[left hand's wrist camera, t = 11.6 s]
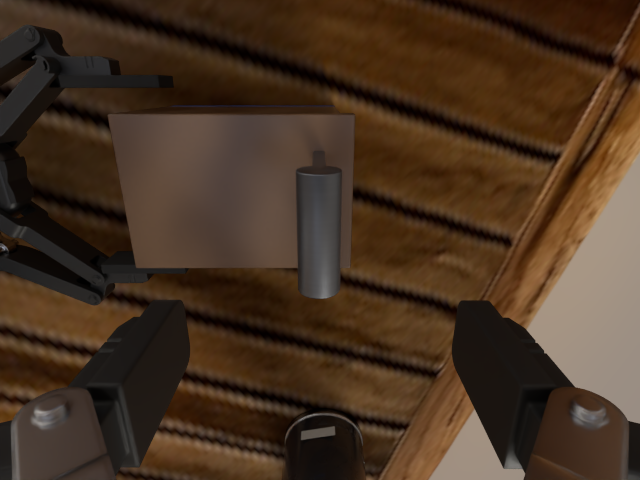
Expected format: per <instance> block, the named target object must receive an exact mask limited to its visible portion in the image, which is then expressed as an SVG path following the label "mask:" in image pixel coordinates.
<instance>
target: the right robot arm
mask: <svg viewBox="0 0 640 480" xmlns="http://www.w3.org/2000/svg"><path fill="white" fill-rule="evenodd" d="M62 44H63V40H62V37H61V35H60V34H59V33H58V32H56V31H55V30H50V29H46V28H41V27H36V26H32V25H25V26H23V27H21V28H19V29H18V30H16V31H15V32H13V33H12V34H10V35H9V36H7V37H6V38H4V39H3V40H1V41H0V86H1V85H3V84H4V83H6V82H7V81H9V80H10V79H12V78H14V77H15V76H17V75H18V74H20V73H21V72H23V71H25V70H26V69H28V68H29V67H31V66H33V65H34V66H33V67H32V68H31V69H30V70H29V72H28V73H27V74H26V75H25V76H24V78H23V79H22V80H21V81H20V82H19V84H18V85H17V86H16V87H15V88H14V90H13V91H12V92H11V93H10V94H9V96H8V97H7V98H6V99H5V100H4V102H3V103H2V104H1V105H0V231H2V232H4V233H5V234H7V235H8V236H10V237H14V238H21V239H23V240H25V241H26V242H28V243H29V244H31V245H32V246H34V247H36V248H37V249H39V250H40V251H38V250H36V249H33V248H30V247H27V246H22V245H19V242H18V241H17V240H15V239H13V240H10V239H7V238H5V237H3V236H2V234H1V232H0V271H6V272H9V273H12V274H14V275H17V276H19V277H22V278H24V279H27V280H29V281H32V282H34V283H37V284H40V285H42V286H45V287H47V288H50V289H52V290H55V291H57V292H60V293H63V294H65V295H68V296H70V297H73V298H75V299H78V300H80V301H83V302H86V303H88V304H91V305H98V304H100V303H101V302H102V301H103V300H104V299H105V298H106V297H107V296H108V295H109V294H110V293H111V292H112V291H113V290H114V288H115V284H114V283H143V282H146V281H148V280H149V279H150V278H151V277H152V275H153V274H154V273H186V272H187V271H188V269H189V268H136V264H135V259H134V254H133V251H117V252H116V253H115V254H114V255H112V256H111V257H110V258H109V257H108V256H106V255H105V254H103V253H102V252H100V251H99V250H97V249H96V248H94V247H93V246H91V245H90V244H88V243H87V242H85V241H84V240H82V239H81V238H79V237H78V236H76V235H75V234H73V233H72V232H70V231H69V230H67V229H66V228H64V227H63V226H61V225H60V224H58V223H57V222H55V221H54V220H52V219H51V218H49V217H48V213H47V211H45V210H44V209H42V208H41V207H39V206H38V205H36V204H35V203H33V202H32V201H31V197H34V196H35V195H34V192H33V188H32V186H31V184H30V182H29V180H28V178H27V166H26V162H25V159H24V157H20V155H19V154H18V153H17V151H16V150H15V149H16V148H17V146H18V145H19V144H20V143H21V142H22V141H23V140H24V138H25V137H26V136H27V133H26V132H27V131H28V129H29V128H30V127H31V126H32V125H33V124H34V123H35V121H36V120H37V119H38V118H39V117H40V116H41V115H42V113H43V112H44V111H45V110H46V109H47V108H48V107H49V105H50V104H51V103H52V102H53V101H54V100H55V99H56V97H57V96H58V95H59V94H60V93H61V92H62V91H63V89H64V88H166V87H174V86H173V78H172V76H163V75H121V73H120V67H119V61H117V60H114V59H112V58H107V57H100V56H97V57H71V56H70V55H68V54H67V53H66V51H65V50H64V48H63V46H62ZM20 214H22V215H23V216H24V217H21V218H16V217H17V216H18V215H20ZM41 251H42V252H41Z"/></svg>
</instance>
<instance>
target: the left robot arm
mask: <svg viewBox="0 0 640 480" xmlns="http://www.w3.org/2000/svg"><path fill="white" fill-rule="evenodd" d="M189 356H190V343H189V336H188V329H187V322H186V315H185V308H184V304H183V302H182V301H181V300H153V301H152V302H151V303H150V305H149V306H148V307H147V309H146V310H145V311H144V312H143V314H142V315H141V316H140V317H133V318H132V319H130V320H128V321H127V322H125V323H124V324H122V325H121V326H119V327H118V328H117V329H116V330H115V331H114V332H113V334H112V335H111V336H110V337H109V338H108V340H107V342H105V343H104V344H103V345H102V347H101V348H100V349H99V352H98V353H96V354H95V355H94V356H93V357H92V358H91V360H90V361H89V362H88V363H87V364H86V366H85V367H84V368H83V369H82V370H81V372H80V373H79V374H78V375H77V376H76V377H75V379H74V380H73V381H72V382H71V383H70V385H69V386H68V387H65V388H60V389H56V390H53V391H50V392H47V393H45V394H42V395H40V396H38V397H37V398H35V399H33V400H32V401H30V402H29V403H27V404H26V405H25V406H24V407H23V408H21V409H20V410H19V412H18V413H17V414H16V415H15V417H14V418H13V420H12V421H7V422H3V423H0V480H116V475H117V473H118V471H119V469H120V467H140V465H141V462H142V460H143V458H144V456H145V454H146V452H147V450H148V448H149V446H150V444H151V441H152V439H153V437H154V435H155V433H156V431H157V429H158V427H159V425H160V423H161V420H162V418H163V416H164V414H165V412H166V410H167V408H168V406H169V404H170V402H171V399H172V397H173V395H174V393H175V391H176V389H177V387H178V385H179V383H180V381H181V378H182V376H183V374H184V372H185V370H186V368H187V365H188V362H189ZM452 357H453V363H454V366H455V369H456V371H457V373H458V375H459V377H460V379H461V381H462V383H463V385H464V387H465V389H466V392H467V394H468V396H469V398H470V400H471V402H472V404H473V406H474V408H475V410H476V412H477V414H478V416H479V418H480V420H481V423H482V425H483V427H484V429H485V431H486V433H487V435H488V437H489V439H490V441H491V443H492V445H493V448H494V450H495V452H496V454H497V456H498V458H499V460H500V462H501V464H502V466H503V468H504V469H523V470H524V472H525V477H524V480H640V424H638V423H634V422H630V421H628V420H627V418H626V417H625V415H624V414H623V413H622V412H621V410H620V409H619V408H617V407H616V406H615V405H614V404H613V403H611V402H610V401H608V400H607V399H605V398H603V397H602V396H600V395H597V394H595V393H593V392H590V391H587V390H584V389H580V388H575V387H574V385H573V384H572V383H571V382H570V381H569V380H568V378H567V377H566V376H565V375H564V374H563V373H562V371H561V370H560V369H559V368H558V367H557V365H556V364H555V363H554V362H553V361H552V360H551V358H550V357H549V356H548V355H547V354H544V350H543V349H542V348H541V347H540V346H539V344H538V343H535V340H534V338H533V337H532V336H531V335H530V334H529V333H528V331H527V330H526V329H525V328H524V327H522V326H521V325H519V324H517V323H516V322H514V321H513V320H511V319H510V318H502V316H501V315H500V314H499V313H498V311H497V310H496V309H495V307H494V306H493V305H492V304H491V303H490V302H489V301H460V303H459V305H458V309H457V316H456V323H455V330H454V337H453V343H452ZM362 446H363V440H362V433H361V430H360V428H359V426H358V424H357V423H356V422H355V421H354V420H353V419H352V418H351V417H349V416H348V415H346V414H344V413H341V412H339V411H335V410H329V409H319V410H313V411H309V412H306V413H304V414H302V415H300V416H298V417H297V418H295V419H294V420H293V421H292V422H291V423H290V425H289V426H288V428H287V430H286V434H285V452H284V462H283V471H282V480H366V474H365V465H364V456H363V448H362Z"/></svg>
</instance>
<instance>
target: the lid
mask: <svg viewBox="0 0 640 480" xmlns="http://www.w3.org/2000/svg"><path fill="white" fill-rule="evenodd" d="M108 120H109V126H110V131H111V136H112V142H113V147H114V152H115V158H116V163H117V168H118V174H119V179H120V184H121V190H122V195H123V200H124V206H125V211H126V216H127V222H128V227H129V232H130V238H131V243H132V248H133V254H134V259H135V264H136V268H298V290H299V292H300V293H301V294H302V295H304V296H306V297H309V298H315V299H323V298H329V297H332V296H334V295H336V294H337V293H338V292H339V290H340V268H350V267H351V236H352V203H353V171H354V139H355V114H353V113H114V114H108Z"/></svg>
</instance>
